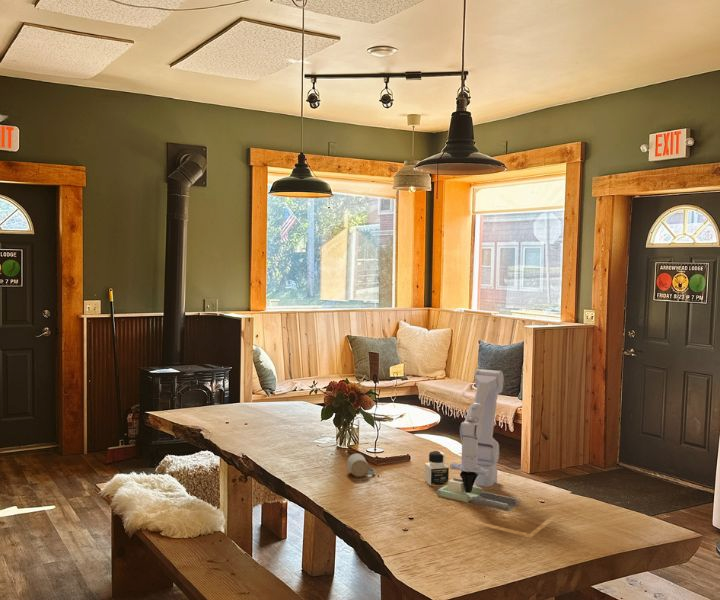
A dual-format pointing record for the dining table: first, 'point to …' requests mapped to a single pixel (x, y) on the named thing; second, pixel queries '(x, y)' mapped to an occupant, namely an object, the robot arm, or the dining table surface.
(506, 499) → the dock
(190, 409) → the dining table surface
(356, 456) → the ceramic mug
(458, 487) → the beige cardboard box
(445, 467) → the medicine bottle
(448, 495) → the tray
